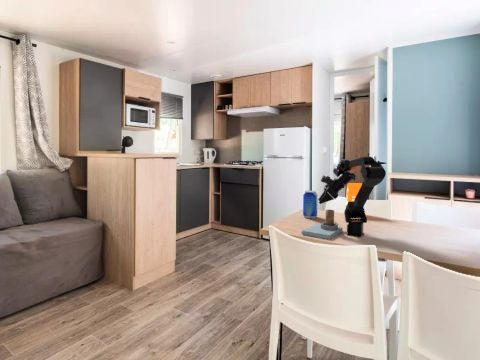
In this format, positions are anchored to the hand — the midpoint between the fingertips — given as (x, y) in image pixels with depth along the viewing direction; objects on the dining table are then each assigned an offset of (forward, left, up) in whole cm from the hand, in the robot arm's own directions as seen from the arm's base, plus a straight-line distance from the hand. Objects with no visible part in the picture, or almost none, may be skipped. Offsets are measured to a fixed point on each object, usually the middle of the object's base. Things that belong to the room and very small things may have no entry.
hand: (319, 201), depth 160 cm
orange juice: (-5, -42, -14) cm, 44 cm away
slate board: (-6, +10, -14) cm, 18 cm away
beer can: (+14, -19, -14) cm, 27 cm away
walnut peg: (-8, +6, -12) cm, 16 cm away
